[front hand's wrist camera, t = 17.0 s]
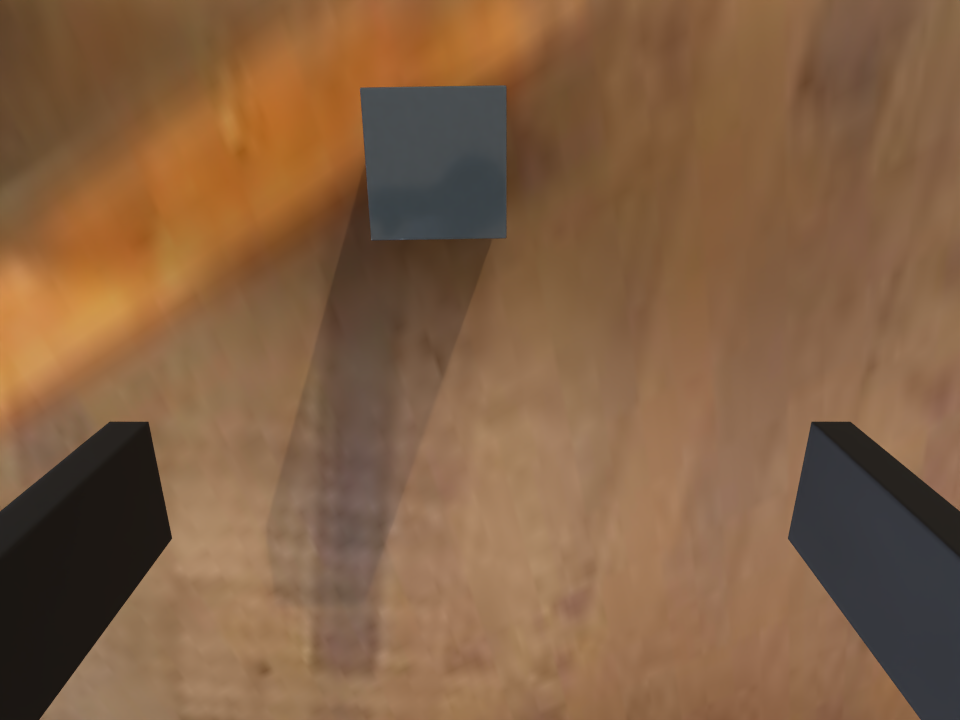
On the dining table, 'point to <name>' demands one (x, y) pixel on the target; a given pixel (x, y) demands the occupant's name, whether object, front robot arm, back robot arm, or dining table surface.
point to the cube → (435, 161)
